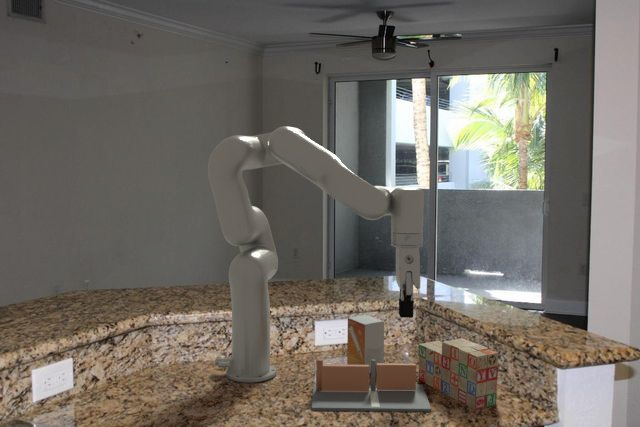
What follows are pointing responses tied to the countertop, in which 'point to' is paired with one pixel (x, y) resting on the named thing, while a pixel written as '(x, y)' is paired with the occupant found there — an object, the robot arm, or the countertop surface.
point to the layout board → (371, 400)
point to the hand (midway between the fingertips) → (406, 315)
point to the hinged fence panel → (393, 376)
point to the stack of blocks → (460, 371)
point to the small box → (365, 341)
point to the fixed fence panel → (341, 377)
